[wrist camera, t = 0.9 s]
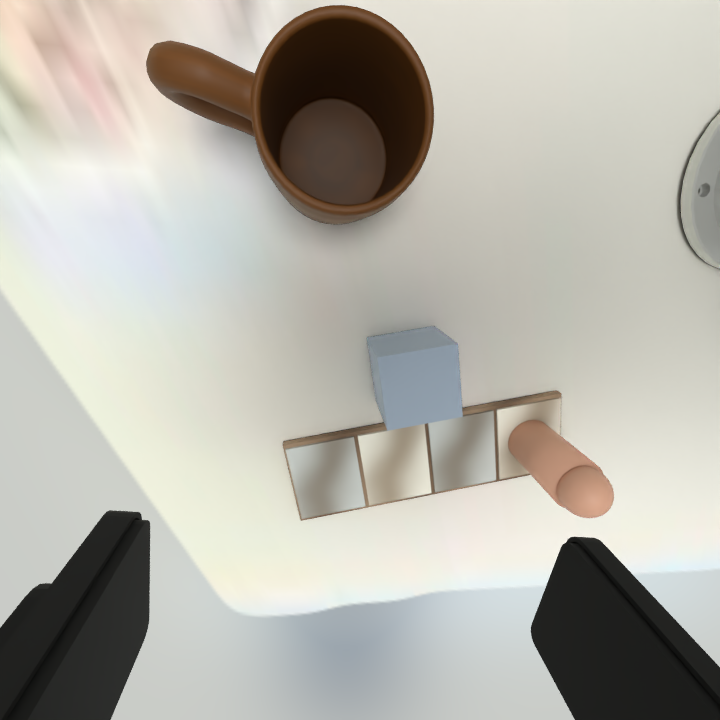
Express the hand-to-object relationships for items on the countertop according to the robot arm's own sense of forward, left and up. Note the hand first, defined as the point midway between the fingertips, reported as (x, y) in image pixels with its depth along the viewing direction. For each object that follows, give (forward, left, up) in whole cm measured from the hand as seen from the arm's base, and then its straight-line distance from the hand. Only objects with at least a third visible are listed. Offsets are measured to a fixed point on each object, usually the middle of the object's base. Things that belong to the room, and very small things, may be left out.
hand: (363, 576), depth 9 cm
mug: (0, -12, -20) cm, 24 cm away
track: (-6, +11, -20) cm, 23 cm away
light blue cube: (-5, +3, -20) cm, 21 cm away
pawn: (-14, +11, -19) cm, 26 cm away
